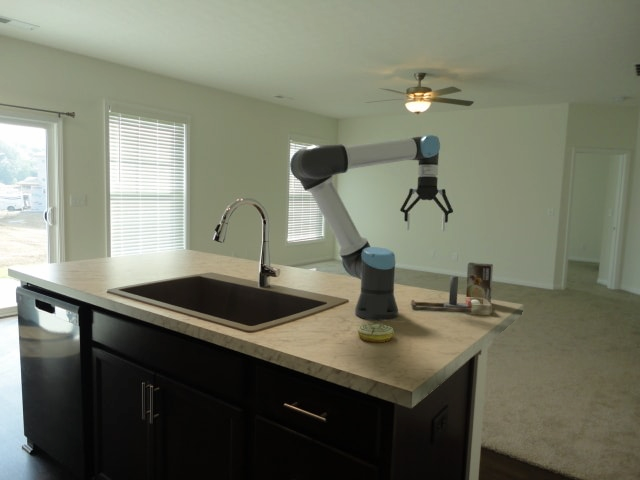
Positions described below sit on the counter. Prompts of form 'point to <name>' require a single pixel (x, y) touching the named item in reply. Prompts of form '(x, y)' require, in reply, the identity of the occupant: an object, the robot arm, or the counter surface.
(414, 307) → the rail
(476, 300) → the ball
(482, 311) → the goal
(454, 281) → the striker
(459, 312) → the pitch mat
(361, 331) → the decorated donut
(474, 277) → the coffee box
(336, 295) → the counter surface
